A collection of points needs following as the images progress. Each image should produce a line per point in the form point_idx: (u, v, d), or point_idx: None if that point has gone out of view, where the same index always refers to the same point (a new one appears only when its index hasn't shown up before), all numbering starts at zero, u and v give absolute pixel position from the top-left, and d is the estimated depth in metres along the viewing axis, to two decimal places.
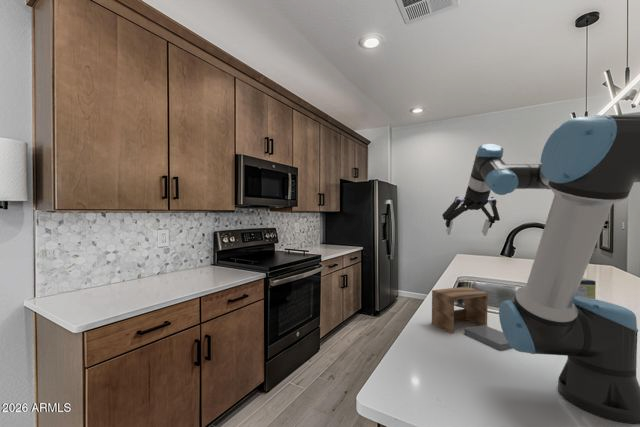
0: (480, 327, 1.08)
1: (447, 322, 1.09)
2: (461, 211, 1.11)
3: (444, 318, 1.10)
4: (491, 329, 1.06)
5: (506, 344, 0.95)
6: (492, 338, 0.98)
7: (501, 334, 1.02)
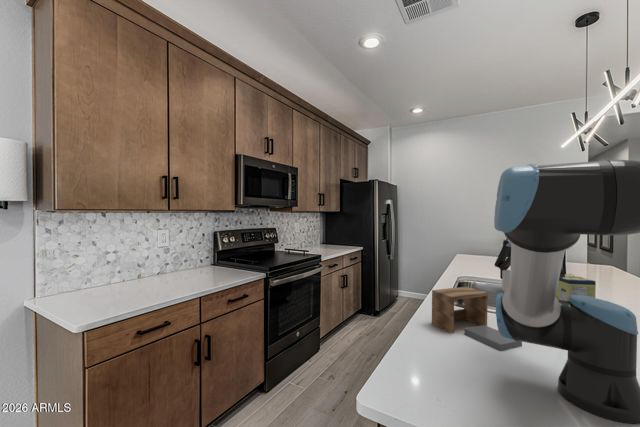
0: (480, 327, 1.08)
1: (447, 322, 1.09)
2: (510, 256, 0.95)
3: (444, 318, 1.10)
4: (491, 329, 1.06)
5: (506, 344, 0.95)
6: (492, 338, 0.98)
7: None
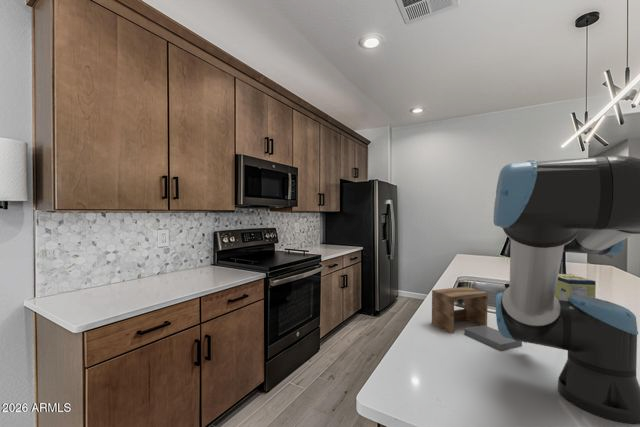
0: (480, 327, 1.08)
1: (447, 322, 1.09)
2: None
3: (444, 318, 1.10)
4: (491, 329, 1.06)
5: (506, 344, 0.95)
6: (492, 338, 0.98)
7: None
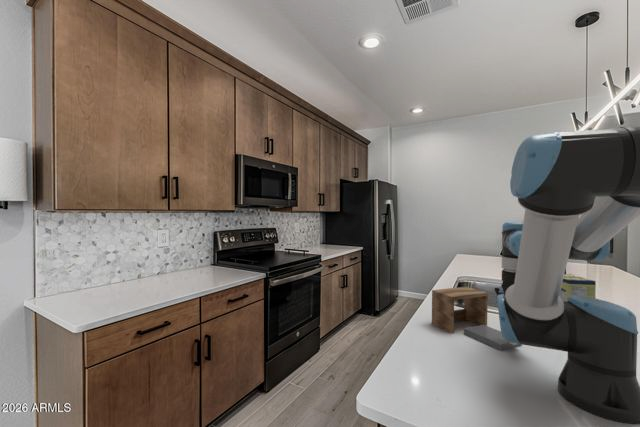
0: (479, 326, 1.09)
1: (447, 322, 1.09)
2: None
3: (444, 318, 1.10)
4: (490, 329, 1.06)
5: (506, 344, 0.95)
6: (492, 338, 0.98)
7: (500, 334, 1.02)
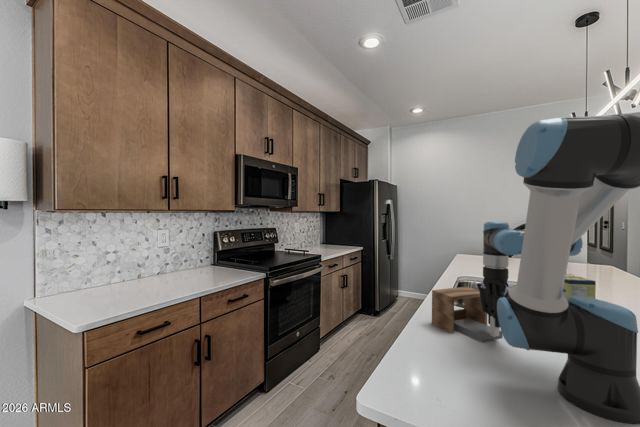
0: (465, 320, 1.15)
1: (447, 322, 1.09)
2: (489, 298, 1.02)
3: (444, 318, 1.10)
4: (475, 322, 1.12)
5: (487, 335, 1.01)
6: (474, 330, 1.05)
7: (483, 326, 1.08)
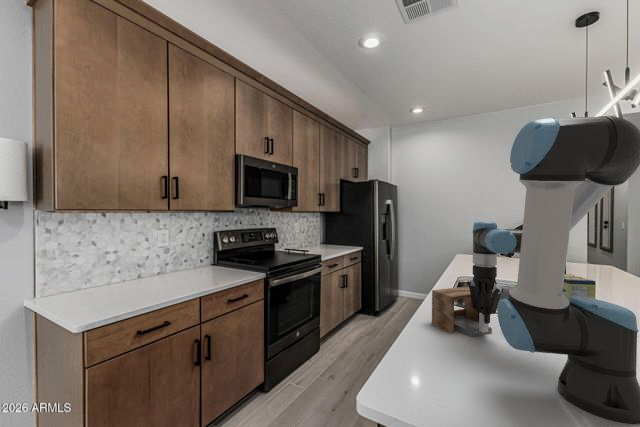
0: (456, 317, 1.19)
1: (447, 322, 1.09)
2: (478, 295, 1.06)
3: (444, 318, 1.10)
4: (466, 319, 1.16)
5: (477, 331, 1.05)
6: (464, 326, 1.09)
7: (473, 323, 1.12)
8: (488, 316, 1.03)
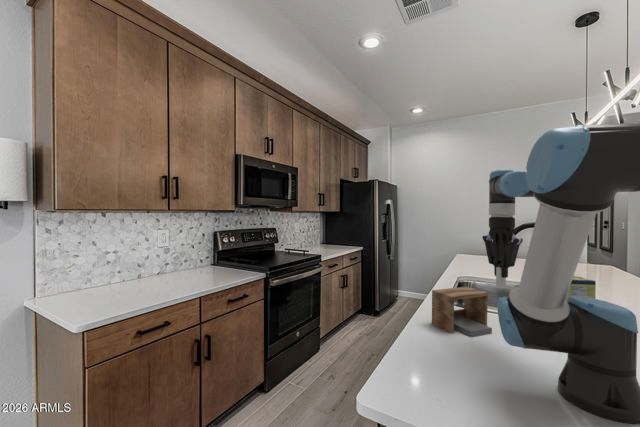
0: (456, 317, 1.19)
1: (447, 322, 1.09)
2: (495, 249, 1.00)
3: (444, 318, 1.10)
4: (466, 319, 1.16)
5: (477, 331, 1.05)
6: (464, 326, 1.09)
7: (473, 323, 1.12)
8: (506, 269, 0.97)
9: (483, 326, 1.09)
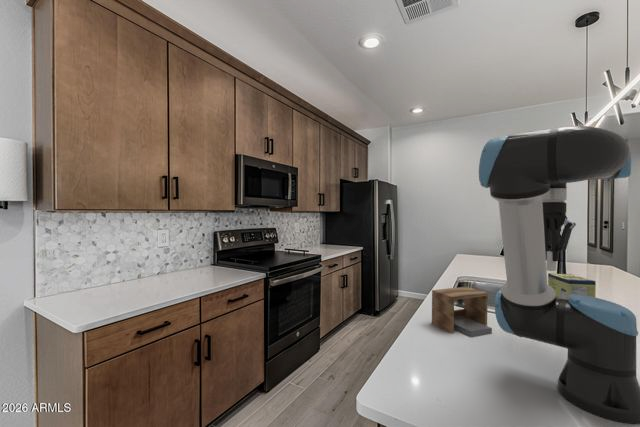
0: (456, 317, 1.19)
1: (447, 322, 1.09)
2: (545, 233, 1.02)
3: (444, 318, 1.10)
4: (466, 319, 1.16)
5: (477, 331, 1.05)
6: (464, 326, 1.09)
7: (473, 323, 1.12)
8: (557, 253, 1.00)
9: (483, 326, 1.09)
